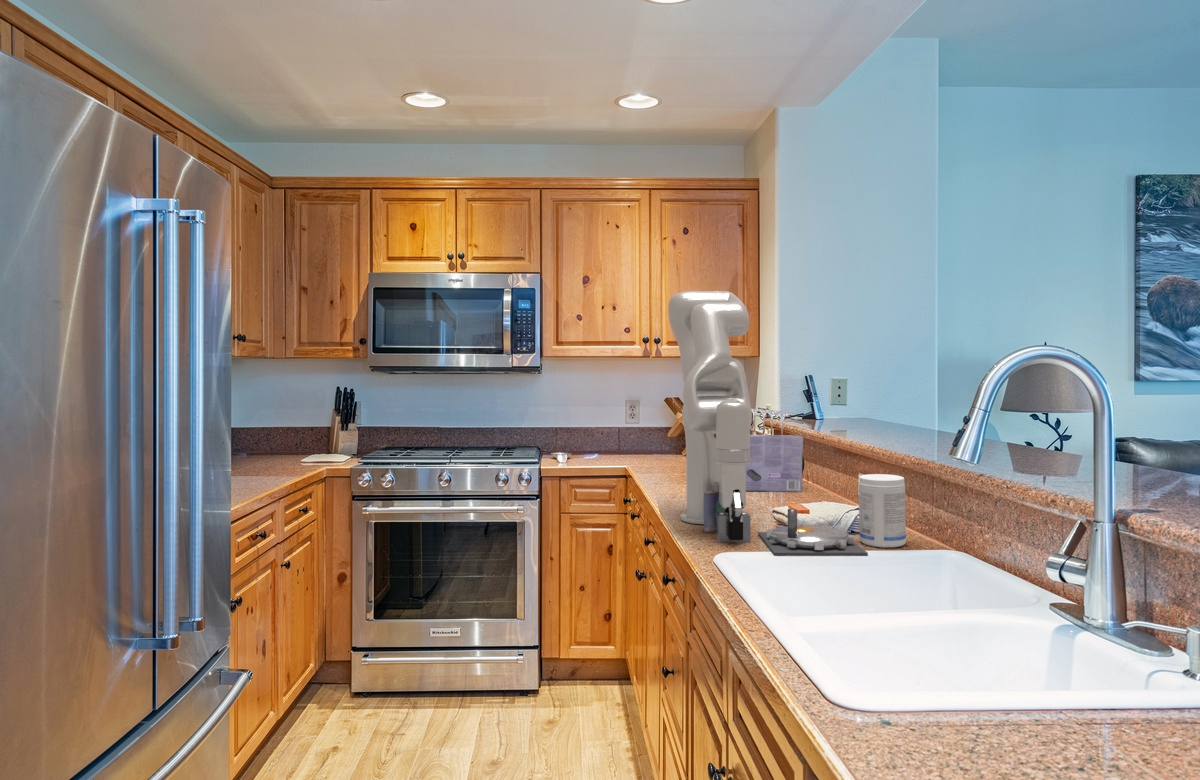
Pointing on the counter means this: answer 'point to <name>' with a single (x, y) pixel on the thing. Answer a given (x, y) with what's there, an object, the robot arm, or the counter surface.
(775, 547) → the base mat
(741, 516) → the robot arm
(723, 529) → the grey rectangular block
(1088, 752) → the counter surface
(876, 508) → the supplement tub
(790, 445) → the purple product box
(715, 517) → the flask
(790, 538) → the sprocket
